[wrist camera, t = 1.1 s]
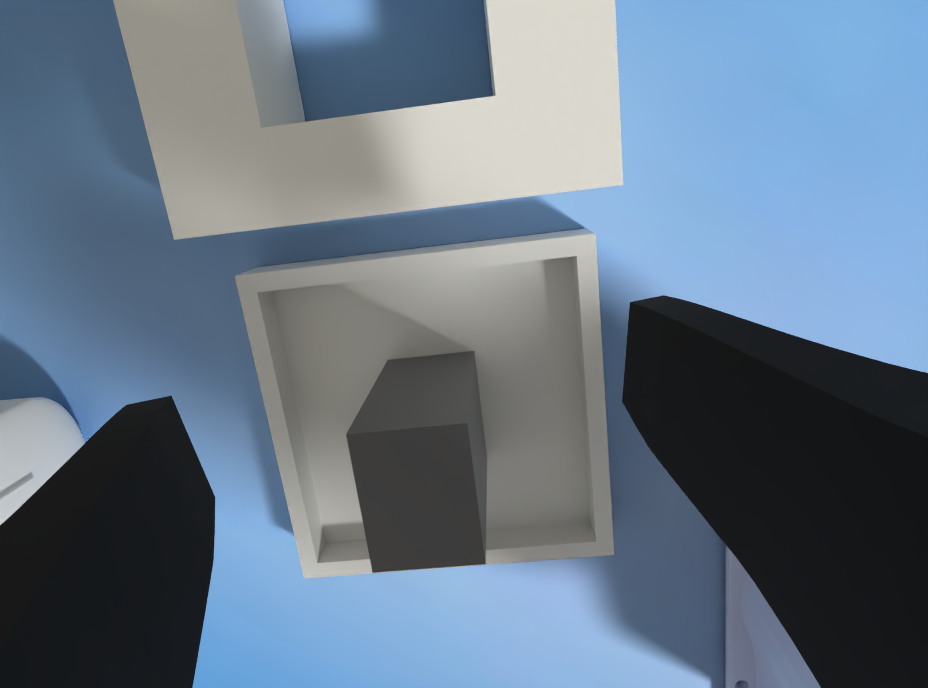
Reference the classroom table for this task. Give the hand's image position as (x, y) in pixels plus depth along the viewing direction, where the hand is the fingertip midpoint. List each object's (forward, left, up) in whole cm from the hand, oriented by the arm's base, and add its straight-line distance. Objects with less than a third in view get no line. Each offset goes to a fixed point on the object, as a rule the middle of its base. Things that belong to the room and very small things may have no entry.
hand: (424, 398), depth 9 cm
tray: (-4, +1, -11) cm, 12 cm away
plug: (-4, +1, -10) cm, 11 cm away
